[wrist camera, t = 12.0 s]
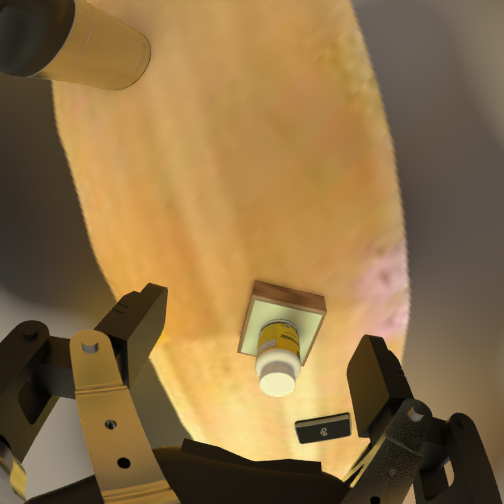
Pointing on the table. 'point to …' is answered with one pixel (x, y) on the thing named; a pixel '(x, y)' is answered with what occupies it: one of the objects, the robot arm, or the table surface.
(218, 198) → the table surface
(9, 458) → the robot arm
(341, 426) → the external hard drive
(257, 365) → the supplement bottle
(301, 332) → the pedestal
